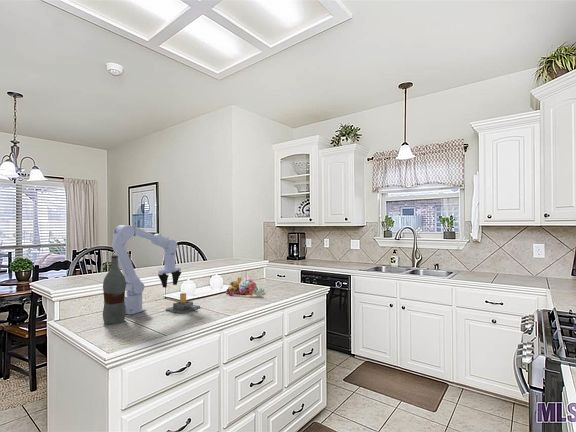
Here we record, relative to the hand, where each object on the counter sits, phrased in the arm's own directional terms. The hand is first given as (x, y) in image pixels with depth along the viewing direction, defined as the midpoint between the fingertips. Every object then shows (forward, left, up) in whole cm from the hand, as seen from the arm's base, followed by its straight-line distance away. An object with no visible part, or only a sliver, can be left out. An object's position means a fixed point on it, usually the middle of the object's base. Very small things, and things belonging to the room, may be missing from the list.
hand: (169, 286), depth 181 cm
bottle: (-34, 0, -10) cm, 35 cm away
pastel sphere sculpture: (+42, -23, -10) cm, 49 cm away
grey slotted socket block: (-5, -14, -10) cm, 18 cm away
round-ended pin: (-5, -14, -9) cm, 17 cm away
